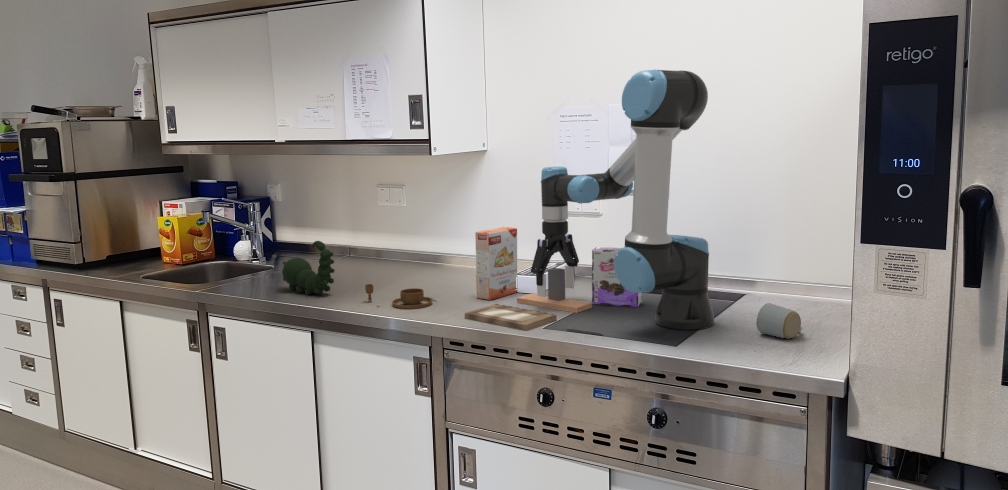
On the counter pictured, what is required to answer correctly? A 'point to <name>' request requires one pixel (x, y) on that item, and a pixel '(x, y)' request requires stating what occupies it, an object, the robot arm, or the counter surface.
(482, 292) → the cracker box
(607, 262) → the candy box
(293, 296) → the counter surface
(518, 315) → the board
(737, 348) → the counter surface
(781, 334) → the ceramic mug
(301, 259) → the toy figurine
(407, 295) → the place setting
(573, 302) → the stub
